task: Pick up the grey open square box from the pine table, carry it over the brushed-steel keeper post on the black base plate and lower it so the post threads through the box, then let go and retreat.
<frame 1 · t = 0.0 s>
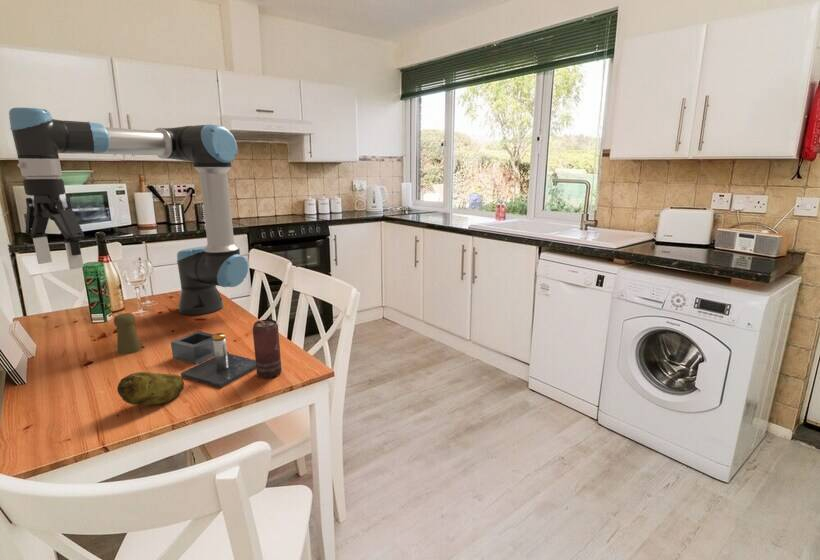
hand: (60, 265, 110), 28 cm above the table, fingers open, 13 cm apart
green avocado: (155, 403, 101), on the table
keeper post: (222, 370, 116), on the table
grey open square box: (198, 355, 125), on the table
can: (269, 374, 115), on the table
cork: (129, 350, 129), on the table
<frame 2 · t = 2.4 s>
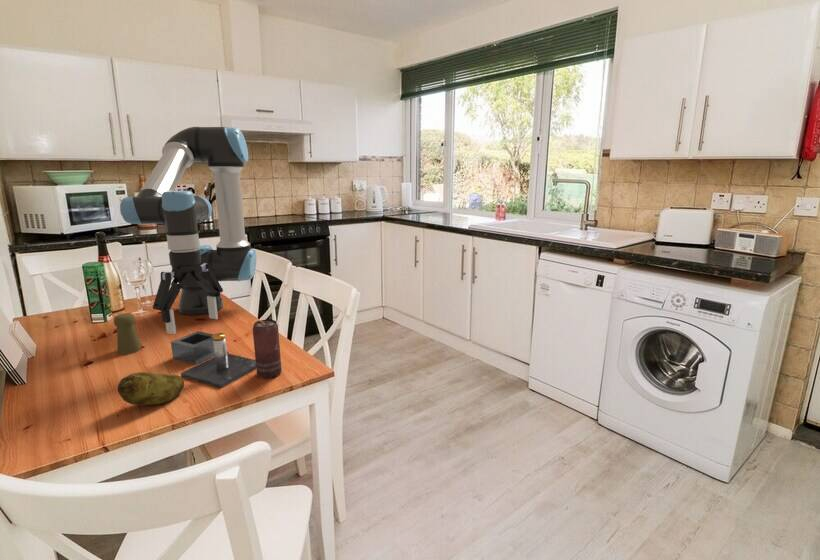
hand: (193, 325, 123), 9 cm above the table, fingers open, 13 cm apart
nothing on the table moved.
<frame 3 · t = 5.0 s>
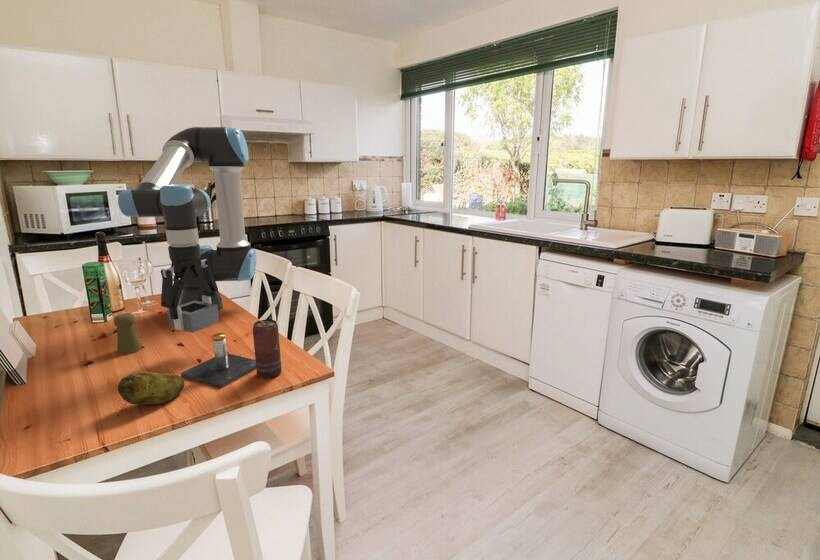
hand: (194, 323, 123), 9 cm above the table, fingers closed on grey open square box, 9 cm apart
grey open square box: (194, 324, 123), point 9 cm above the table, touching gripper
everything else where it was.
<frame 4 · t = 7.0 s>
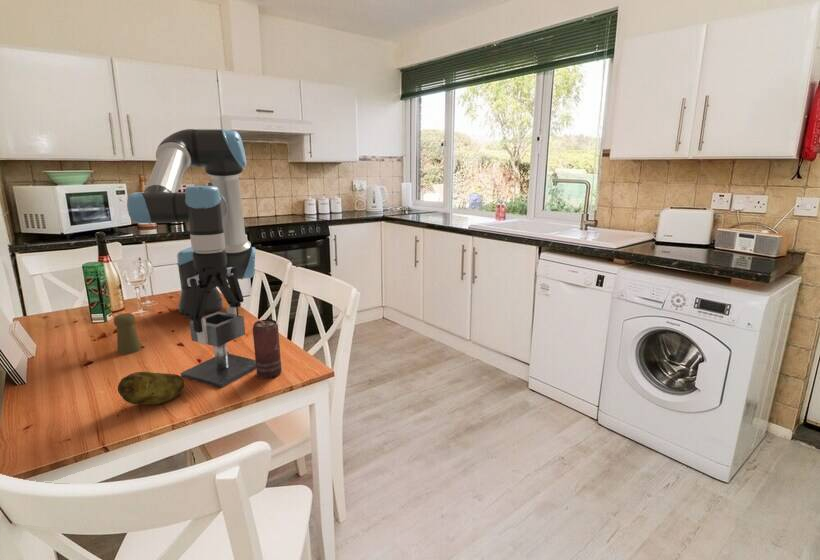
hand: (219, 336, 114), 10 cm above the table, fingers closed on grey open square box, 9 cm apart
grey open square box: (219, 337, 114), point 9 cm above the table, touching gripper
everything else where it was.
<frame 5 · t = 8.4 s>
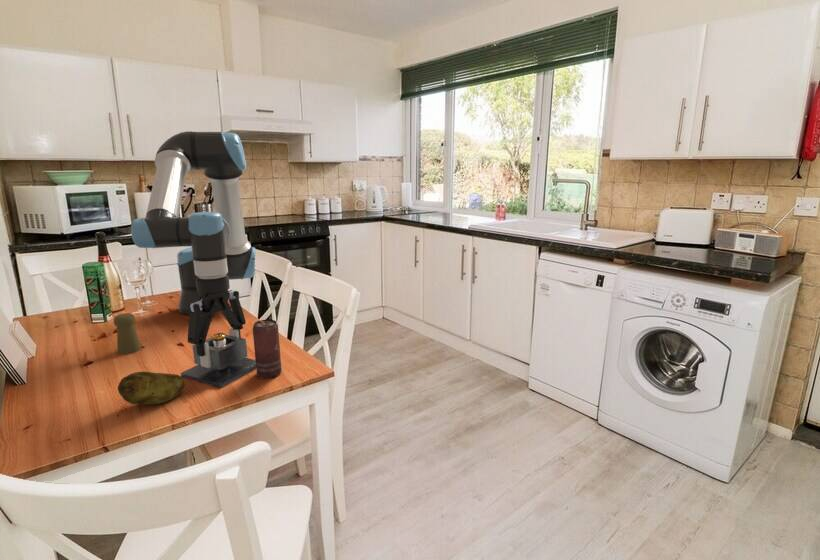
hand: (221, 359, 115), 3 cm above the table, fingers closed on grey open square box, 9 cm apart
grey open square box: (221, 360, 115), point 3 cm above the table, touching gripper
everything else where it was.
when the fingers open (1 cm above the table, at t = 9.4 s): grey open square box stays where it is, resting on keeper post.
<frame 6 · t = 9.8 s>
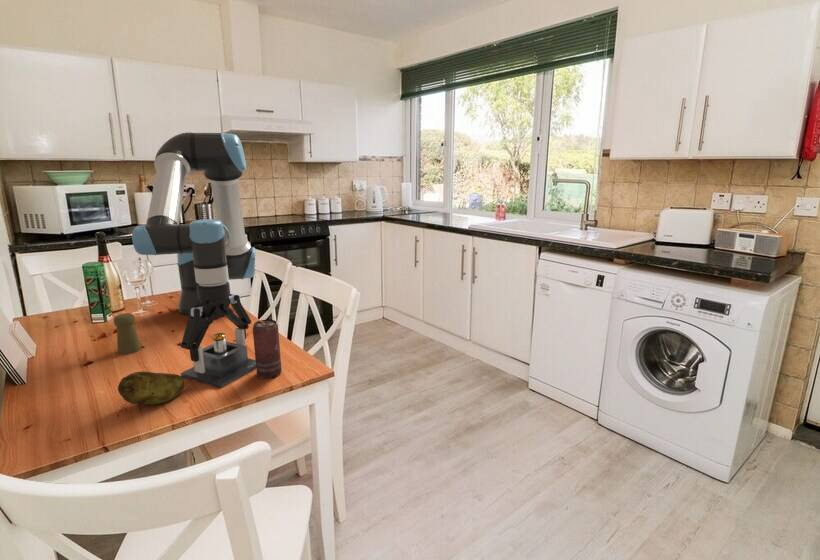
hand: (221, 361, 115), 3 cm above the table, fingers open, 13 cm apart
grey open square box: (222, 367, 116), point 1 cm above the table, touching keeper post
everything else where it was.
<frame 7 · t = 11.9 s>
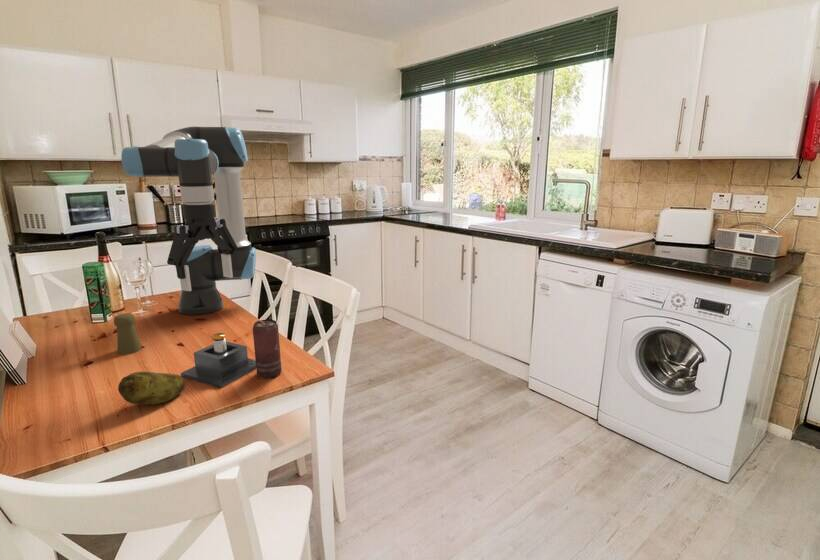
hand: (208, 283, 118), 22 cm above the table, fingers open, 13 cm apart
nothing on the table moved.
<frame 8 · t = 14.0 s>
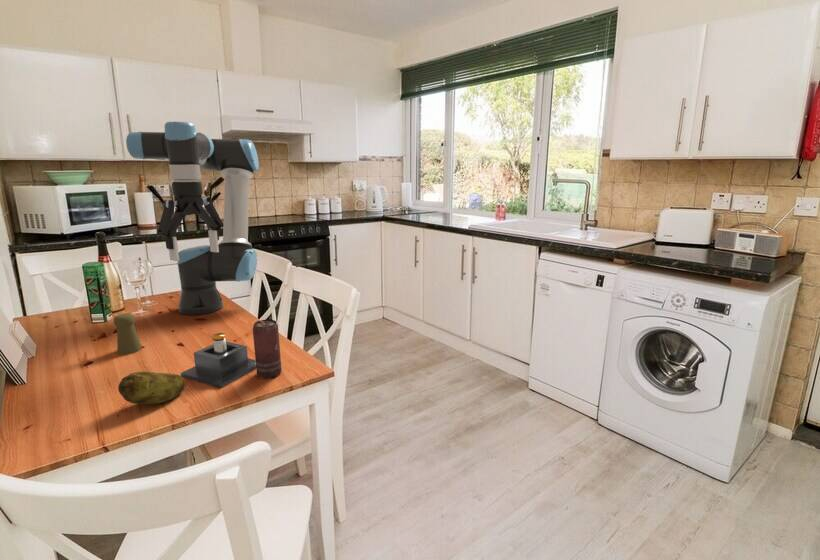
hand: (195, 256, 128), 27 cm above the table, fingers open, 13 cm apart
nothing on the table moved.
at the end: grey open square box 0.1 cm off-centre on the keeper post, point 1.0 cm above the keeper post's base; the gripper is holding nothing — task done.
